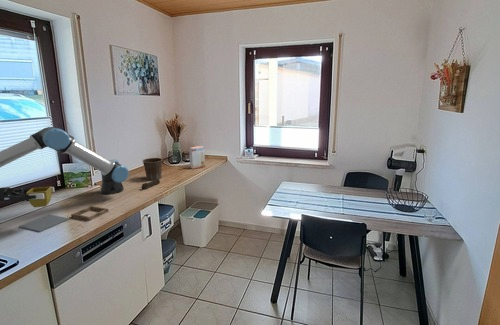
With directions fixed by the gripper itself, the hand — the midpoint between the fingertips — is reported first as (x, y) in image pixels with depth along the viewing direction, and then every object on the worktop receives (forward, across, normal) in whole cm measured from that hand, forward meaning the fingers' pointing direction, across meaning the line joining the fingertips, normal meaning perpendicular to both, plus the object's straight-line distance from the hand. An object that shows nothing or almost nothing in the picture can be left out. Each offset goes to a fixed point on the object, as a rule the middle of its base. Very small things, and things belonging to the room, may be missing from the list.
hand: (48, 192), depth 145 cm
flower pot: (-4, 0, -7) cm, 8 cm away
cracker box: (+78, -112, -17) cm, 137 cm away
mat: (-4, 0, -17) cm, 18 cm away
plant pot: (+41, -80, -17) cm, 92 cm away
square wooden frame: (+16, -8, -17) cm, 25 cm away
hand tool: (+42, -56, -17) cm, 73 cm away
